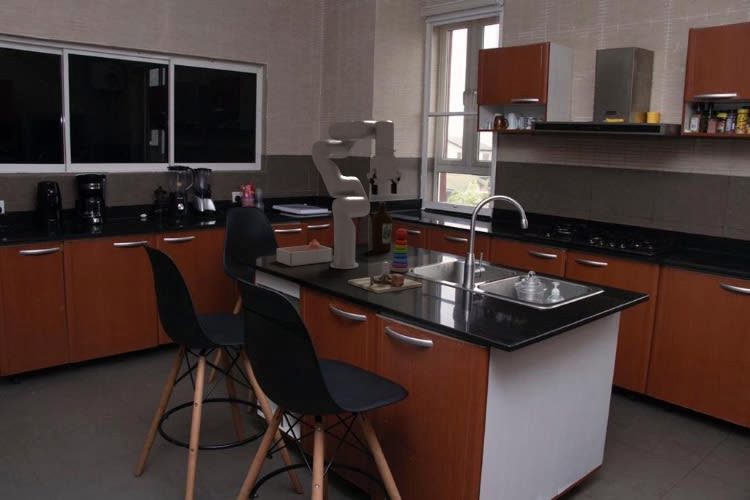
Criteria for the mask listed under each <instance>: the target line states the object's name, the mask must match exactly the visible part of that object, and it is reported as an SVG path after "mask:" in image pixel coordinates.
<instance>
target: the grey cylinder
mask: <svg viewBox="0 0 750 500" xmlns="http://www.w3.org/2000/svg"><path fill="white" fill-rule="evenodd" d="M389 274H390V261H382V262H381V275H380V276H381V280H389ZM369 276H370V285H374V277H375V276H374V275H372V274H370V275H369Z"/></svg>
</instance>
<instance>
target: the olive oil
mask: <svg viewBox="0 0 750 500" xmlns="http://www.w3.org/2000/svg"><path fill="white" fill-rule="evenodd" d="M378 203H379V204H378V210H377V211H376V212H375V213H374V214H373V216H372V218H371V242H372V243H371V250H372V251H373V252H376V253H388V251H389V252H390V251H391V248H392V247H391V245H392V242H393V241H392V232H393V217H392V216H391V214H390V213H389V212H388V211H387V210H386V209H387V208H386V206H387V205H386V201H379V202H378Z"/></svg>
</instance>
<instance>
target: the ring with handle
mask: <svg viewBox="0 0 750 500" xmlns="http://www.w3.org/2000/svg"><path fill="white" fill-rule="evenodd" d="M378 276H379V277H375V276H374V282H376V283H380V284H391V285H394V286H404V278H405V275H403V274H401V273H393V274H392V277H390V276H389V280H381V276H382V275H378Z"/></svg>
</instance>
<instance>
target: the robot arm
mask: <svg viewBox="0 0 750 500" xmlns="http://www.w3.org/2000/svg"><path fill="white" fill-rule="evenodd" d="M327 133H328V135H329V137H330V138H331V139H328V138H327V139H319V140H317V141H315V142H314V143H313V145H312V148H311V157H312V160H313V163H314V165H315V166H316V169H317V170H318V172H319V173H320V175H321V177H322V180H323V182H324V185H325V187H326V189H327V192H328V194H329V195H330V196H331V198H335V199H334V200H333V202H332V206H331V209H332V215H333V225H334V226H333V234H334V236H333V240H334V241H333V255H332V257H331V259H332V262H331V263H330V267H331V268H333V269H339V270H352V269H357V268H358V267H359V263H358V262H356V236H357V235H356V232H357V231H356V230H357V229H356V225H355V223H354V221H353V218H362V217H365V216H368V215H369V213H370V211H371V203H370V200H369V197H368V196H367V194H366V191H365V189H364V186H363V184H362V182H361V181H360V179H359V178H357V177H356V176H353V175H349V176H344V175H343V174H342V172H341V170H340V168H339V167H338V165H337V164H336V163H335V162H334V161H332V160H331V159H345V158H347V157H348V156H349V155H350V154H351V152H352V151H353V149H354V148H355V146H356V144H357V142H359V140H374V142H375V146H374V153H375V154H374V155H373V157H372V161H371V168H370V169H371V170H370V171H369V172H367V173H366V178H367V181H368V183H370V185H371V195H374V196H375V195H376V196H378V194H379V193H378V192H379V191H378V190H379V189H378V188H379V186H378V183H379V181H389V180H390V182H391V183H390V194H393V195H396V194H397V193H398V185H399V182H400V181H401V178H402V176H403V173H402V172H401V171H399V170H397V160H396V155H395V153H396V152H397V151H396V148H395V147H394V146H395V143H394V142H395V123H394V122H393V121H391V120H342V121H335V122H332V123H331V124H330V125H329V127H328V131H327Z"/></svg>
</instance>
